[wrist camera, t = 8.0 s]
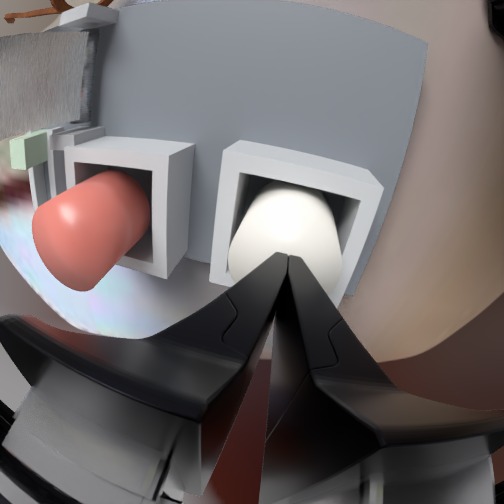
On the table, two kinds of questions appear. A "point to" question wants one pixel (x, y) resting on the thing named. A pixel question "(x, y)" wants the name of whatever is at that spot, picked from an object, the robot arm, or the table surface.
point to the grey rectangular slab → (46, 79)
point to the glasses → (49, 10)
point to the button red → (90, 227)
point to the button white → (288, 232)
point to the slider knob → (29, 150)
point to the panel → (239, 120)
